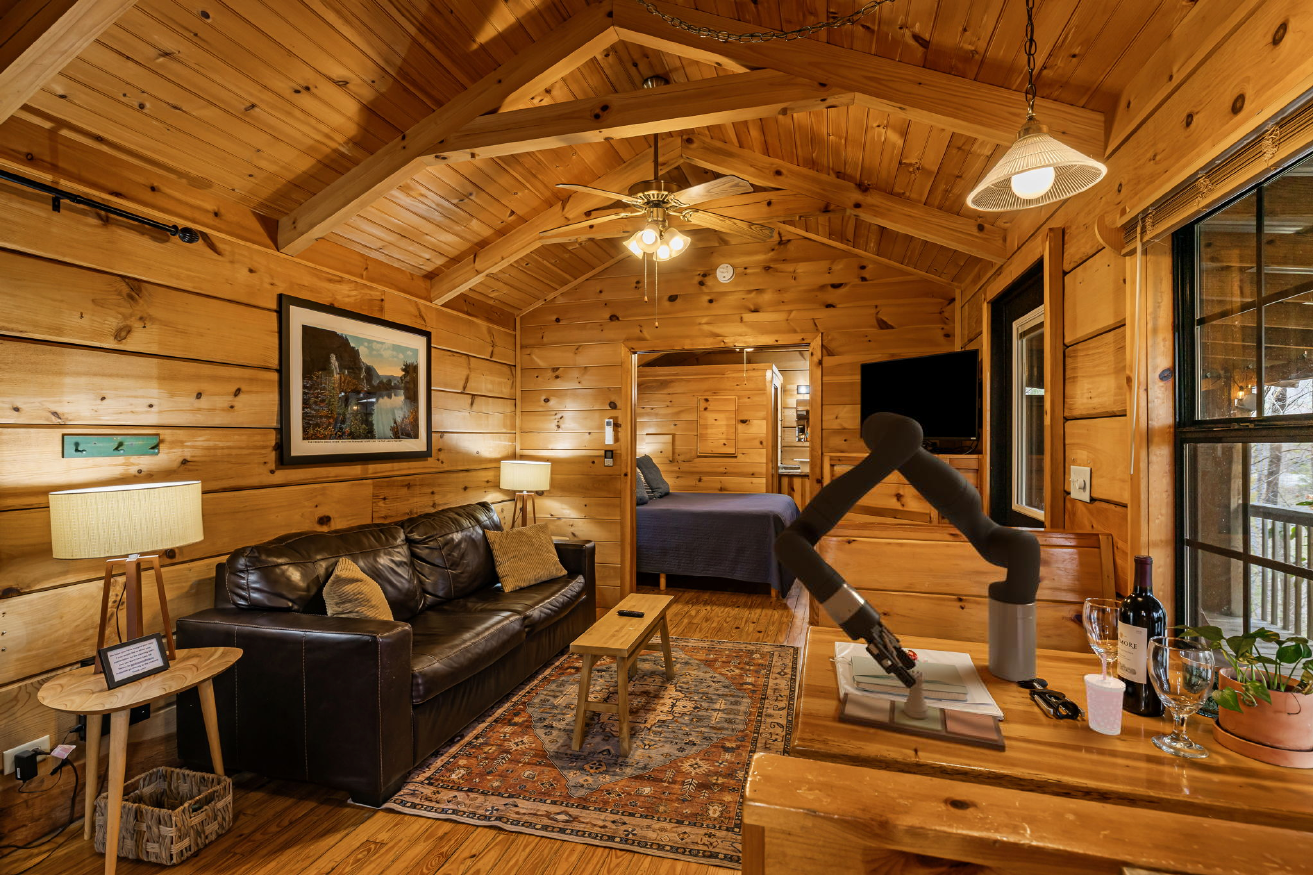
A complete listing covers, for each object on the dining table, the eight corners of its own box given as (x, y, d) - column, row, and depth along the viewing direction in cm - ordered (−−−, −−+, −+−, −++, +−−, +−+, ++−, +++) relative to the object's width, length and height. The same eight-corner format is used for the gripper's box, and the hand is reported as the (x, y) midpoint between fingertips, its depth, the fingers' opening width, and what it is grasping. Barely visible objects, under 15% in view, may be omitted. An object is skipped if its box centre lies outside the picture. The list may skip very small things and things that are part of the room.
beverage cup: (1083, 717, 113) (1083, 645, 113) (1124, 726, 110) (1124, 652, 109) (1084, 730, 108) (1084, 655, 108) (1126, 740, 105) (1126, 663, 104)
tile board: (844, 696, 123) (844, 690, 123) (996, 721, 112) (996, 714, 112) (838, 721, 113) (838, 714, 113) (1005, 751, 102) (1005, 743, 102)
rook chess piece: (931, 720, 110) (931, 678, 110) (906, 718, 111) (906, 676, 111) (925, 709, 114) (925, 668, 114) (901, 707, 115) (901, 667, 115)
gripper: (861, 608, 109) (929, 679, 105) (866, 589, 122) (926, 651, 118) (832, 633, 111) (897, 703, 107) (839, 611, 124) (898, 673, 120)
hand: (912, 675), depth 112 cm, fingers open, 8 cm apart
